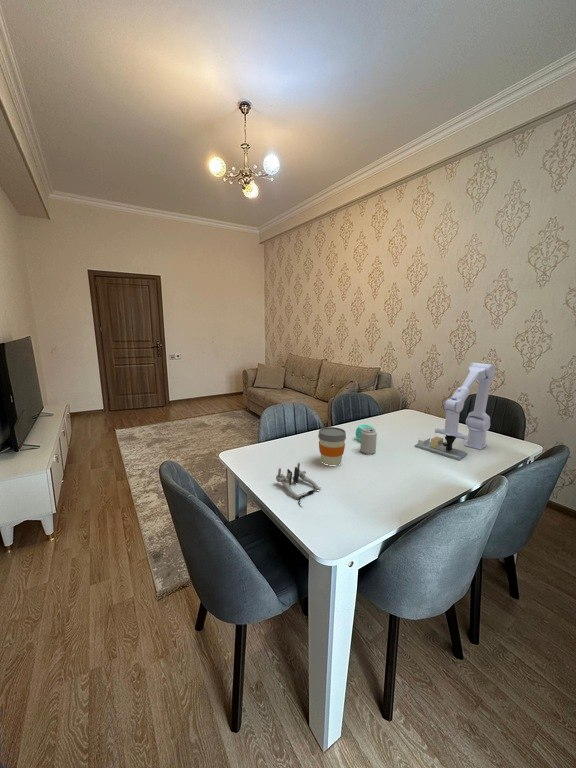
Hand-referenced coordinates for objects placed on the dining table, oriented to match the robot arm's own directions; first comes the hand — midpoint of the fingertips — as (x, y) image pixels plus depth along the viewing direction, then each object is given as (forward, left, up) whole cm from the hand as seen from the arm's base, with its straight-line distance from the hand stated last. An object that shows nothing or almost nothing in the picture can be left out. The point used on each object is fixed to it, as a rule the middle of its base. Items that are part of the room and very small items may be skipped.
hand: (449, 449), depth 153 cm
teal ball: (+17, -37, -2) cm, 41 cm away
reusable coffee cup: (+52, -31, -2) cm, 61 cm away
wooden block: (0, -6, -1) cm, 6 cm away
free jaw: (0, -2, -1) cm, 3 cm away
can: (+29, -27, -2) cm, 40 cm away
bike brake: (+80, -23, -2) cm, 83 cm away
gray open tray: (0, -4, -2) cm, 5 cm away
